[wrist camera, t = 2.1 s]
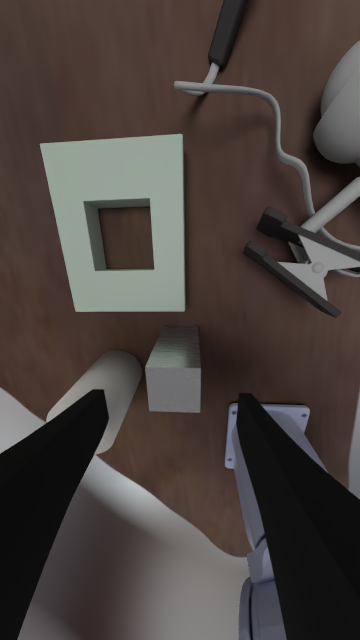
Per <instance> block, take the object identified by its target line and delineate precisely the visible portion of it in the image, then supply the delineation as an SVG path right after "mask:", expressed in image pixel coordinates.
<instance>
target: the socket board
mask: <svg viewBox="0 0 360 640" xmlns="http://www.w3.org/2000/svg"><path fill="white" fill-rule="evenodd" d="M40 147H41V152H42V156H43V161H44V166H45V170H46V175H47V180H48V184H49V189H50V194H51V198H52V203H53V208H54V212H55V217H56V222H57V226H58V231H59V236H60V240H61V245H62V250H63V255H64V259H65V264H66V269H67V273H68V278H69V283H70V287H71V292H72V297H73V301H74V306H75V311H76V312H100V311H185V306H186V294H185V204H184V147H183V136H182V134H175V135H160V136H146V137H132V138H117V139H103V140H88V141H74V142H60V143H45V144H40ZM145 206H150V207H151V223H152V238H153V254H154V269H106V262H105V256H104V249H103V242H102V235H101V228H100V221H99V214H98V208H121V207H145Z"/></svg>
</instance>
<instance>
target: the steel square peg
mask: <svg viewBox="0 0 360 640" xmlns="http://www.w3.org/2000/svg"><path fill="white" fill-rule="evenodd" d="M145 372H146V382H147V392H148V403H149V411H166V412H193V413H200V393H201V362H200V349H199V335H198V325H163V327H162V329H161V332H160V334H159V336H158V339H157V341H156V343H155V346H154V348H153V350H152V352H151V355H150V357H149V359H148V362H147V364H146V366H145Z"/></svg>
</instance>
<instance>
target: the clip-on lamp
mask: <svg viewBox="0 0 360 640" xmlns="http://www.w3.org/2000/svg"><path fill="white" fill-rule="evenodd" d="M246 3H247V0H224V1H223V5H222V8H221V12H220V15H219V19H218V22H217V26H216V29H215V33H214V36H213V40H212V44H211V47H210V51H209V54H208V58H209V60H210V61H211V62H212V64H211V67H210V70H209V73H208V75H207V77H206V79H205V81H204V82H203V83H193V82H185V81H175V83H174V87H175V89H176V90H178V91H180V92H182V93H184V94H187V95H191V96H200V95H203V94H204V93H206V92H218V93H237V94H246V95H252V96H256V97H259V98H261V99H263V100H266V101H267V102H268V104H269V105H270V106H271V107H272V109H273V112H274V115H275V123H276V154H277V157H278V159H279V160H280V162H282V163H284V164H286V165H289V166H292V167H294V168H295V169H296V170H297V171H298V172H299V173H300V177H301V180H302V188H303V196H304V203H305V207H306V211H307V214H308V216H309V219H308V220H307V221H306V222H305V223H304V224H303V225H301V226H298V225H296V224H293V223H291V222H289V221H286V218H287V215H286V214H284V213H283V212H281V211H279V210H277V209H275V208H272V207H267V208H266V209H265V211H264V213H263V214H262V217H261V219H260V222H259V224H258V226H257V229H258V230H259V231H261V232H263V233H264V234H266V235H268V236H270V237H272V236H273V235H274V236H276V237H278V238H280V239H282V240H285V241H287V242H288V243H289V245H290V247H291V250H292V252H293V254H294V256H295V258H296V260H297V262H298V263H285V262H277V261H275V260H274V259H273V258H272V257H270V256H269V255H268V254H267V251H266V250H265V249H263V248H262V247H261V246H259V245H258V244H256V243H255V242H253V241H251V240H250V241H249V242H248V244H247V245H246V247H245V250H244V254H246V255H247V256H248V257H250V258H251V259H252V260H254V261H255V262H259V263H260V264H261V265H262V266H264V267H265V268H266V269H268V270H269V271H270V272H271V273H273V274H274V275H275V276H276V277H278V278H279V279H280V280H281V281H283V282H284V283H285V284H287V285H288V286H289V287H290V288H292V289H293V290H294V291H295V292H297V293H298V294H299V295H300V296H302V297H303V298H304V299H306V300H307V301H308V302H309V303H311V304H312V305H313V306H314V307H316V308H317V309H319V310H320V311H322V312H324V313H326V314H328V315H330V316H333V317H335V318H337V317H338V316H339V315H340V314H341V311H339V310H338V309H337V308H335V307H334V306H333V305H332V304H330V303H329V302H328V301H327V296H326V291H325V285H324V279H323V278H324V277H325V276H326V275H327V273H328V270H334V271H335V272H336V273H339V274H341V275H344V276H348V277H360V246H355V245H350V244H347V243H344V242H341V241H339V240H337V239H336V238H334V237H333V236H332V235H330V234H329V233H328V232H327V231H326V230H325V228H324V227H323V226H324V225H325V224H327V223H328V222H329V221H330V220H332V219H333V218H334V217H335V216H336V215H338V214H339V213H340V212H341V211H342V210H344V209H345V208H346V207H347V206H348V205H350V204H351V203H352V202H353V201H354V200H356V199H357V198H359V197H360V177H357V178H356V179H354V180H353V181H352V182H351V183H350V184H349V185H347V186H346V187H345V188H344V189H343V190H342V191H341V192H339V193H338V194H337V195H336V196H335V197H334V198H333V199H331V200H330V201H329V202H328V203H327V204H326V205H324V206H323V207H322V208H321V209H320V210H319V211H318V212H316V213H315V211H314V208H313V203H312V198H311V188H310V180H309V174H308V170H307V167H306V165H305V164H304V163H303V162H302V160H300V159H298V158H296V157H293V156H290V155H288V154H285V153H284V152H283V151H282V149H281V145H280V128H281V117H280V109H279V106H278V102H277V101H276V100H275V99H274V97H273V96H272V95H271V94H269V93H266V92H264V91H262V90H259V89H253V88H248V87H241V86H229V85H215V84H213V82H214V81H215V79H216V76H217V73H218V70H219V67H221V68H224V67H225V66H226V63H227V60H228V57H229V54H230V51H231V48H232V45H233V42H234V39H235V36H236V33H237V30H238V27H239V24H240V21H241V18H242V15H243V12H244V9H245V6H246ZM321 116H322V118H321V120H320V121H319V123H318V124H317V126H316V128H315V130H314V133H313V138H314V142H315V145H316V147H317V149H318V151H319V152H320V153H321V155H322V156H324V157H325V158H326V159H328V160H330V161H332V162H335V163H342V164H348V163H356V164H357V165H358V166H359V167H360V41H358V42H357V43H356V44H355V45H354V46H353V47H352V48H351V49H350V50H349V51H348V52H347V53H346V54H345V55H344V56H343V57H342V59H341V60H340V61H339V63H338V64H337V66H336V67H335V69H334V70H333V72H332V74H331V76H330V78H329V80H328V82H327V84H326V87H325V89H324V92H323V95H322V100H321ZM317 231H318V232H319V233H320V235H319V234H316V232H317ZM344 268H347V269H349V270H351V271H354V272H358V273H356V274H355V273H350V272H347V271H344V270H341V269H344Z"/></svg>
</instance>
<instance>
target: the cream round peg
mask: <svg viewBox="0 0 360 640" xmlns="http://www.w3.org/2000/svg"><path fill="white" fill-rule="evenodd" d="M141 377H142V368H141V365H140V363H139V362H138V360H137V359H136V358H135V357H134V356H133V355H131V354H130V353H128V352H125V351H122V350H110V351H107V352H105V353H104V354H103V355H102V356H101V357H100V358H99V359H98V360H97V361H96V362H95V363H94V364H93V365H92V366H91V367H90V368H89V369H88V371H87V372H86V373H85V374H84V375H83V376H82V377H81V378H80V379H79V380H78V381H77V382H76V383H75V384H74V386H73V387H72V388H71V389H70V390H69V391H68V392H67V393H66V394H65V395H64V396H63V397H62V398H61V400H60V401H59V402H58V403H57V404H56V405H55V406H54V407H53V408H52V409H51V410H50V412H49V413H48V416H47V421H46V422H49V421H50V420H52V419H53V418H55V417H56V416H57V415H59V414H60V413H61V412H63V411H64V410H65V409H67V408H68V407H69V406H71V405H72V404H73V403H75V402H76V401H77V400H79V399H80V398H81V397H83V396H84V395H85V394H87V393H88V392H89V391H91V390H92V389H104V393H105V398H106V403H107V409H108V414H109V421H108V424H107V427H106V429H105V432H104V435H103V437H102V439H101V442H100V444H99V446H98V448H97V450H96V452H95V454H99V453H102V452H105V451H106V450H108V449H109V448H110V447H111V446H112V445H113V443H114V440H115V438H116V436H117V433H118V431H119V429H120V426H121V424H122V422H123V419H124V417H125V415H126V412H127V410H128V408H129V405H130V403H131V401H132V398H133V396H134V394H135V391H136V389H137V387H138V384H139V382H140V380H141Z"/></svg>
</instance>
